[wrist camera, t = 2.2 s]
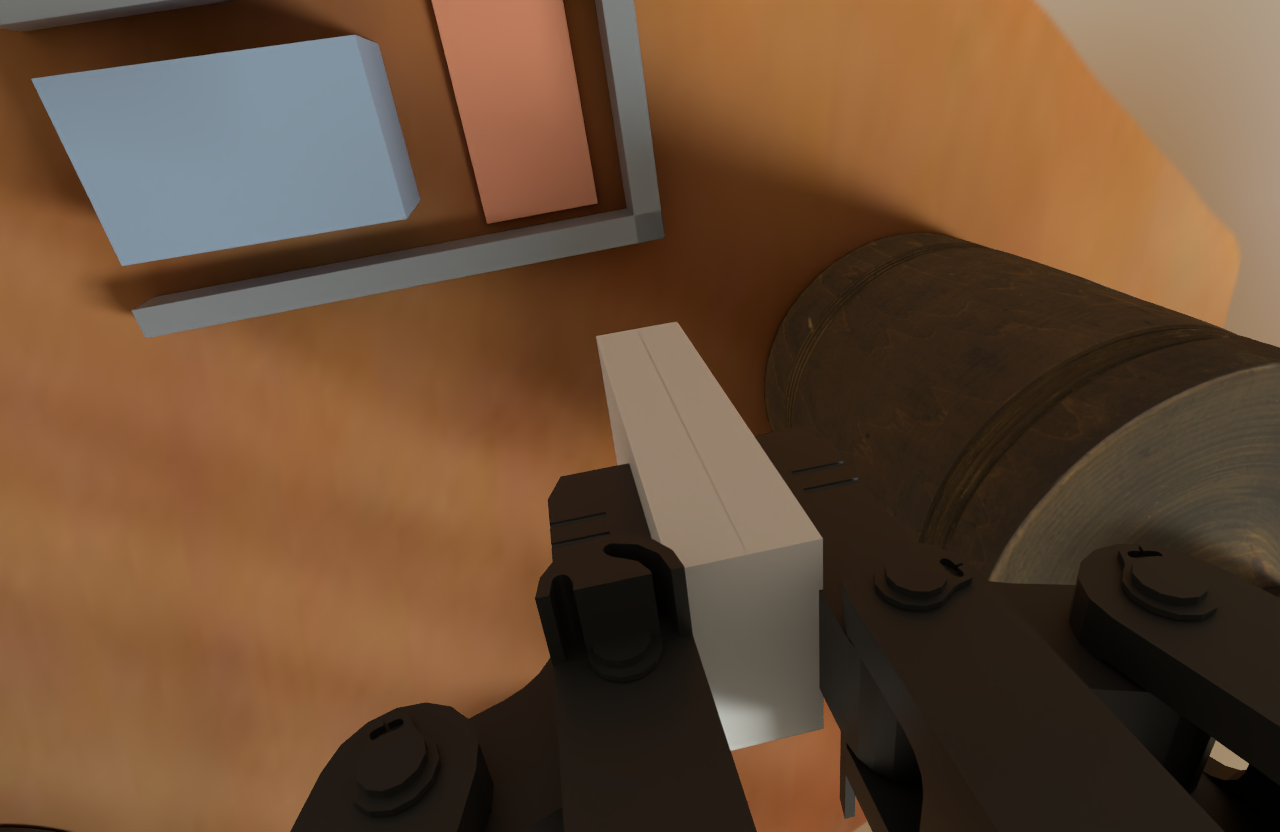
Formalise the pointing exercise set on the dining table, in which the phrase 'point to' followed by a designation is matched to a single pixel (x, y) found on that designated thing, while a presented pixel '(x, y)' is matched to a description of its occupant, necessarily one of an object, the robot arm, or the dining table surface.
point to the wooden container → (1033, 411)
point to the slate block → (235, 146)
